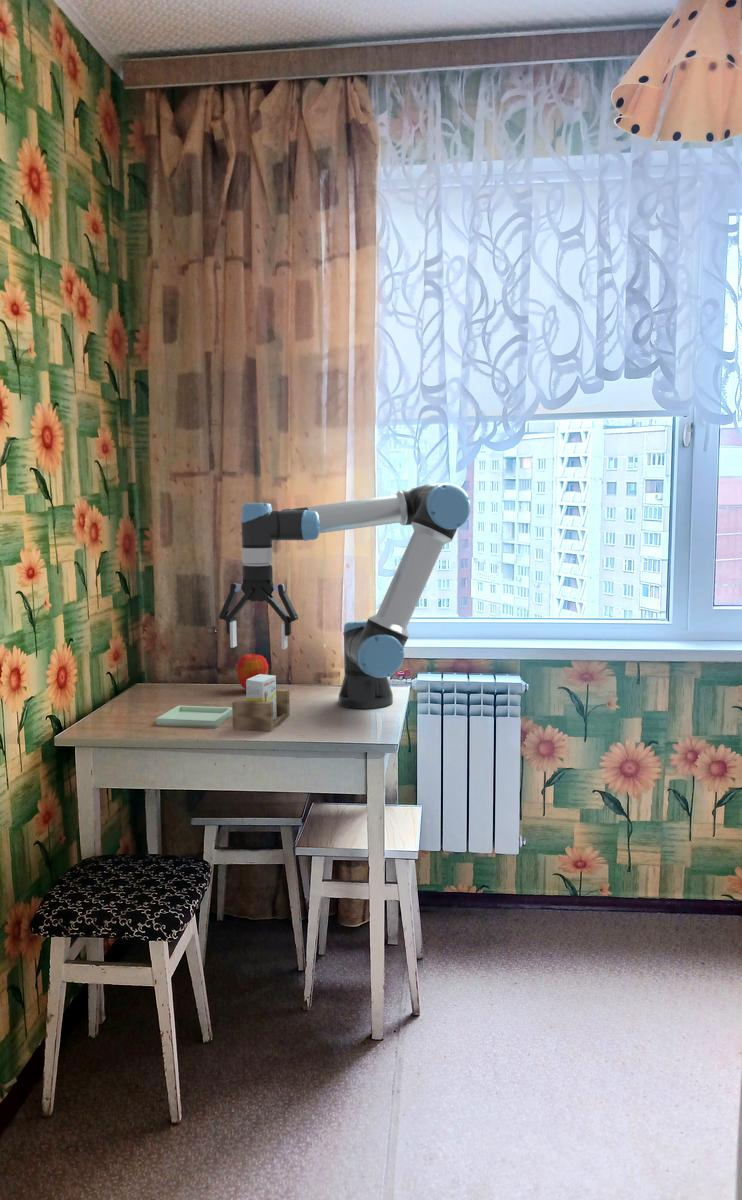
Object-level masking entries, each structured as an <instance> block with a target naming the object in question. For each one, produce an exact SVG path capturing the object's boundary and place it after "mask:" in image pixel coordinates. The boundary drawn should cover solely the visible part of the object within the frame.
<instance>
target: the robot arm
mask: <svg viewBox="0 0 742 1200" xmlns="http://www.w3.org/2000/svg"><path fill="white" fill-rule="evenodd" d="M468 495H469V494H468V493H466V491H465V490H464V489H463V488H462V487H460V485H457V484H453V483H451V482H440V483H437V482H433V483H427V484H423V485H421V486H418V487H414V488H409V489H404V490H398V491H397V493H395V495H394V494H393V495H387V496H386V495H385V496H379V497H371V498H370V497H369V498H365V499H357V500H349V501H341V502H335V503H334V502H333V503H328V504H327V503H326V504H319V505H311V506H305V507H304V506H303V507H297V508H285V509H281V510H273V508H272V504H271V503H270V502H247V503H244V504H243V505H242V506H241V520H240V524H241V544H242V545H241V546H242V547H241V555H242V556H241V558H242V559H241V561H242V562H241V563H243V566H242V567H241V568H242V583H238V582H234V583H231V584H230V589H229V593H228V596H227V598H226V600H225V602H224V604H223V606H222V609H221V611H220V613H219V615H218V619H219V620H223V621H225V622H226V624H225V626H226V634H227V635H229V642H230V643H229V644H230V646H229V647H230V648H235V647H237V646H238V641H237V639H238V637H237V620H234V619H235V618H236V616H237V615H239V613H240V612H241V610H242V609H243V608H244V607H245V606H246V604H247V603H248V602H249V601H250V602H261V603H262V602H263V603H264V602H266V603H267V604H269V606H271V608H272V609H273V610H274V612H275V613H276V614H277V615H278V617H279V618H280V619H281V620H282V621H283V622H281V623H280V627H281V629H280V632H281V650H287V649H288V644H289V642H288V637H289V636H291V634H292V622H295V621H297V620H298V619H299V616H298V614H297V612H296V610H295V607H294V606H293V604H292V602H291V599H290V597H289V596H288V593H287V590H286V584H285V583H282V582H281V583H280V584H274V581H273V578H274V577H273V576H274V575H273V574H274V573H273V566H272V563H273V541H311V540H312V541H314V540H317V539H318V538H319V536H320V534H325V533H333V532H339V531H340V532H341V531H346V530H354V529H361V528H369V527H377V526H385V525H390V524H400V525H402V526H403V527H404V526H411V527H412V528H413V533H412V535H411V537H410V539H409V542H408V543H407V546H406V547H405V550H404V553H403V555H402V557H401V560H400V561H399V564H398V566H397V568H396V570H395V572H394V575H393V577H392V579H391V581H390V583H389V586H388V588H387V590H386V593H385V595H384V597H383V599H382V601H381V604H380V605H379V608H378V611H377V612H376V614H375V615H372V616H370V617H368V618H367V620H364V621H363V620H360V621H348V622H346V623H344V625H343V633H342V635H343V651H344V652H343V655H344V656H343V658H344V659H343V660H344V661H343V662H344V675H343V676H344V677H343V680H342V683H341V687H340V689H339V692H338V704H339V705H340V706H342V707H346V708H352V709H378V708H385V707H388V706H391V705H392V704H393V702H394V701H393V700H394V697H393V691H392V688H391V685H390V683H389V679H388V677H390V676H393V675H394V674H396V673H397V672H398V671H399V669H400V668H401V667H402V666H403V663H404V660H405V650H404V648H405V645H406V643H407V642H408V639H409V636H410V635H409V633H408V629H407V628H408V624H409V622H410V621H411V618H412V616H413V614H414V611H415V609H416V607H417V605H418V604H419V603H418V602H419V600H420V598H421V596H422V593H424V592H423V591H424V589H425V587H426V585H427V582H428V581H429V578H430V576H431V574H432V571H433V569H434V567H435V564H436V562H437V560H438V558H439V556H440V554H441V552H442V549H443V547H444V545H447V544H449V543H450V542H452V541H453V540H454V537H455V535H456V533H457V530H458V528H460V527H462V526H463V525H464V524H465V523H466V522H467V520H468V519H469V516H470V514H471V506H472V505H471V501H470V498H469V496H468ZM274 590H275V592H276V593H277V594H278V596H279V598H280V600H281V601H282V604H283V606H284V608H285V609H284V608H283V607H282V606H281V604H280V603H279V602H278V601H277V599H276V597H275V596H274V595H273V592H274ZM240 591H242V592H243V596H242V597H241V598H240V600H239V601H238V603H236V605H235V606H234V608H233V609H232V610H231V611H230V609H231V607H232V606H233V603H234V602H235V599H236V597H237V595H238V593H239V592H240ZM285 610H286V611H285Z"/></svg>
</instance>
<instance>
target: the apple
mask: <svg viewBox="0 0 742 1200" xmlns="http://www.w3.org/2000/svg"><path fill="white" fill-rule="evenodd" d="M236 673H237V677H238V680H239V683H240V686H241V687H242V688H243V689H244V690H246V681H247V679H249V678H252V677H254V676H256V675H259V674H265V675H269V664H268V661H267V658H265V657H264V656H263V655H260V654H256V653H253V652H251V653H247V654H244V655H241V657H240V658H239V659H238V662H237V665H236Z"/></svg>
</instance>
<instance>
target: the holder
mask: <svg viewBox="0 0 742 1200" xmlns="http://www.w3.org/2000/svg"><path fill="white" fill-rule="evenodd" d="M290 704H291V702H290V689H283V688H281V689H280V688H276V710H277V719H276V720H273V702H264V701H247V700H237V699H236V700H233V701H232V702H231V708H232V714H233V716H232V731H255V732H272V731H273V730H275V729H276V728H277V727H278V726H279V725H281V723H283V722H284V721H285V720H286V719H288V718H289V717H290V716H291V715H290V713H291V710H290V709H291V708H290V707H291V706H290Z"/></svg>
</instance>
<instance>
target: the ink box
mask: <svg viewBox="0 0 742 1200" xmlns="http://www.w3.org/2000/svg"><path fill="white" fill-rule="evenodd" d="M276 689H277V675H274V674H273V675H272V674H268V675H265V674H259V675H256V676H254V677H252V678H249V679H247V681H246V689H245V692H246V701H264V702H273V720H274V721H275V720H277V719H278V717H277V710H276Z"/></svg>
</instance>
